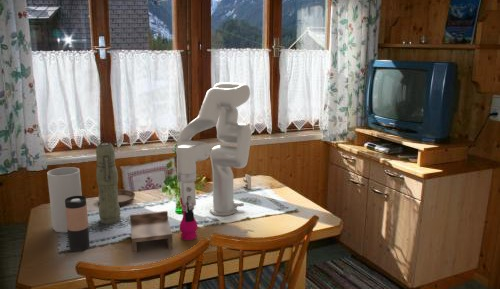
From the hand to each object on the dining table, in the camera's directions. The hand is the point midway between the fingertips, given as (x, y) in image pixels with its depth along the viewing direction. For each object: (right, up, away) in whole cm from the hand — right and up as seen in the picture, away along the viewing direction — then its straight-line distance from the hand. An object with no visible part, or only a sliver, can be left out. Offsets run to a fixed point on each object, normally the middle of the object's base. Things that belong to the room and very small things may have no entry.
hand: (187, 217), depth 180 cm
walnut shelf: (-14, -10, -2) cm, 17 cm away
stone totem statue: (-37, -5, +19) cm, 42 cm away
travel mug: (-41, -11, -7) cm, 43 cm away
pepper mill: (0, -9, +2) cm, 9 cm away
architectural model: (+24, +5, +64) cm, 68 cm away
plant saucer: (-41, +1, +44) cm, 60 cm away
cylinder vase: (-53, -6, +12) cm, 54 cm away
